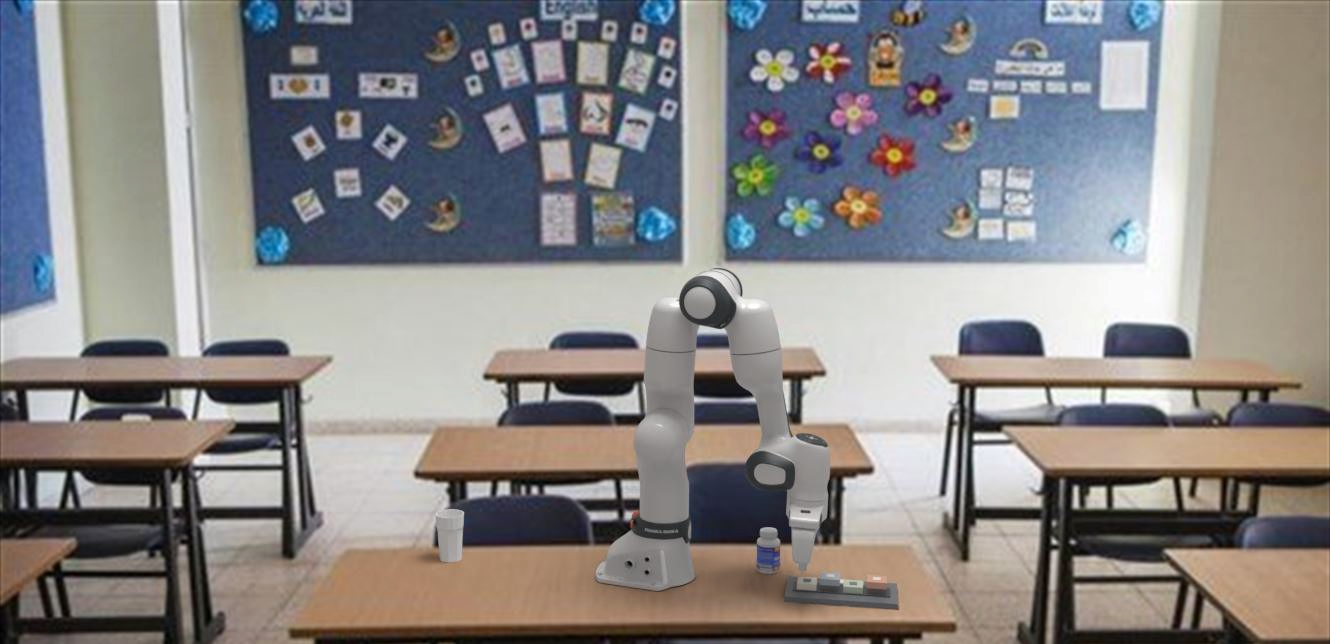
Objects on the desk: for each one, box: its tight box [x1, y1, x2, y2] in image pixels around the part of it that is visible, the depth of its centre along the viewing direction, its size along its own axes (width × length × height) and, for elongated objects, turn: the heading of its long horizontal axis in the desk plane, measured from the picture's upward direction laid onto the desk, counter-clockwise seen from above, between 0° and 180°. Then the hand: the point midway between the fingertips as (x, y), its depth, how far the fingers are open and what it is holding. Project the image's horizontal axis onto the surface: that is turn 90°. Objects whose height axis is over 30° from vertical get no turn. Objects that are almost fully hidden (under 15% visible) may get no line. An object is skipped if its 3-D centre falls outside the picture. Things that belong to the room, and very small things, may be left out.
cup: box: [435, 508, 465, 564], centre depth 292 cm, size 7×7×11 cm
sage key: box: [843, 579, 864, 594], centre depth 272 cm, size 4×4×2 cm
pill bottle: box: [756, 526, 781, 575], centre depth 286 cm, size 5×5×10 cm
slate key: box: [819, 571, 841, 586], centre depth 272 cm, size 4×4×2 cm
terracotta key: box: [866, 574, 888, 589], centre depth 270 cm, size 4×4×2 cm
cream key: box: [797, 576, 818, 591], centre depth 273 cm, size 4×4×2 cm
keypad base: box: [784, 575, 899, 610], centre depth 272 cm, size 24×12×2 cm, turn 81°
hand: (802, 568), depth 273 cm, fingers closed
